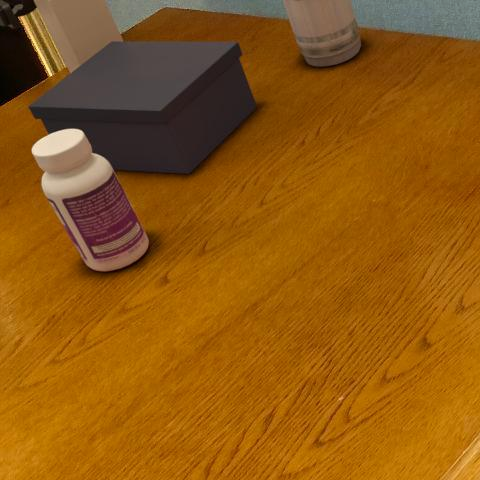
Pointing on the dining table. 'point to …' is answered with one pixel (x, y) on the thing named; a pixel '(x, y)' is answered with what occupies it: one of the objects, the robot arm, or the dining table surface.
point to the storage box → (152, 103)
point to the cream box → (78, 28)
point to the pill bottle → (89, 201)
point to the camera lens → (324, 30)
